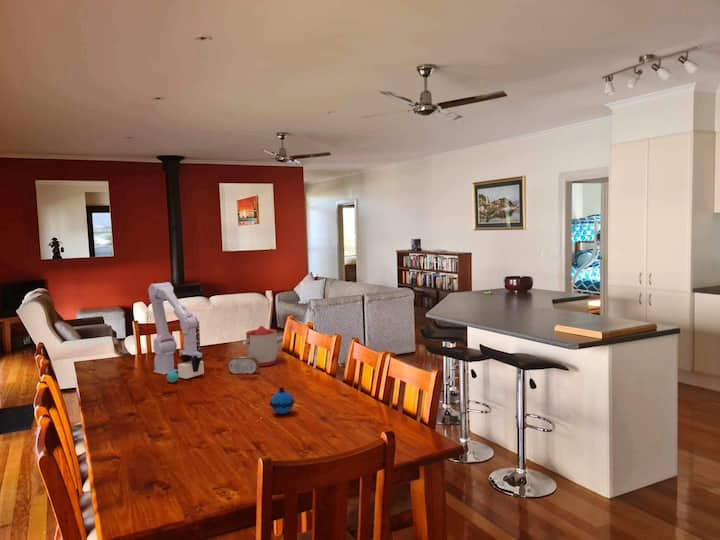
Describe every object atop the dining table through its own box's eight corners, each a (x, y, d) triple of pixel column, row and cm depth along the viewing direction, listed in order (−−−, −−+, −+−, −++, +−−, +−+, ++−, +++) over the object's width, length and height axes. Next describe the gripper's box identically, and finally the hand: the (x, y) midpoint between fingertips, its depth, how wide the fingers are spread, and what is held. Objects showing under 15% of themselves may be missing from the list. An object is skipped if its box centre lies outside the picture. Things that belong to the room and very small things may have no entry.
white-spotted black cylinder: (195, 360, 283) (194, 323, 282) (181, 360, 285) (179, 323, 283) (203, 357, 291) (201, 321, 290) (189, 356, 293) (187, 320, 292)
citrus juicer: (241, 363, 275) (239, 325, 274) (273, 359, 283) (272, 322, 281) (247, 370, 261) (246, 330, 260) (282, 365, 269) (280, 326, 267)
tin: (259, 373, 256) (259, 355, 255) (257, 374, 252) (257, 357, 252) (229, 373, 257) (228, 355, 256) (227, 374, 254) (226, 357, 253)
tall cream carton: (178, 376, 249) (177, 364, 248) (196, 371, 257) (195, 359, 256) (186, 378, 245) (185, 366, 245) (204, 373, 253) (203, 361, 253)
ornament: (298, 411, 199) (297, 385, 198) (284, 419, 192) (283, 392, 191) (280, 408, 203) (279, 382, 203) (265, 415, 196) (264, 388, 195)
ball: (172, 368, 246) (174, 378, 247) (163, 373, 242) (165, 383, 243) (179, 370, 243) (181, 380, 244) (169, 375, 239) (172, 385, 240)
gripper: (173, 342, 251) (175, 370, 252) (192, 345, 243) (193, 374, 244) (186, 339, 257) (187, 367, 258) (205, 342, 248) (206, 371, 249)
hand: (191, 370), depth 251 cm, fingers closed on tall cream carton, 6 cm apart
